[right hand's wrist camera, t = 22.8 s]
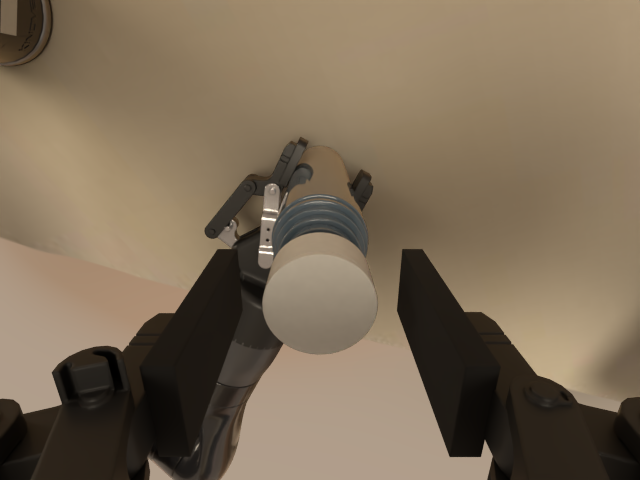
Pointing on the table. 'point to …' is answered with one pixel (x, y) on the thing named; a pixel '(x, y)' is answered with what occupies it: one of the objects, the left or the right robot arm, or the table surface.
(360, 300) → the cap
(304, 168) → the bottle
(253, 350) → the left robot arm
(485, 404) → the right robot arm
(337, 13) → the table surface
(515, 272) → the table surface
